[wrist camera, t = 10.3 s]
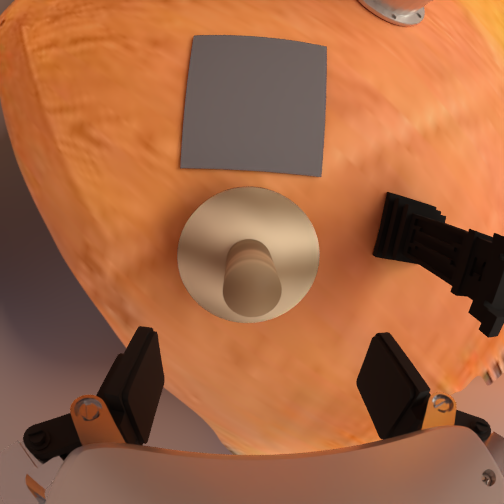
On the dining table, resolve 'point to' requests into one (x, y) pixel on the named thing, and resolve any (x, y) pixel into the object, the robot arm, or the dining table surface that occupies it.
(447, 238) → the chess piece
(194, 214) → the lid
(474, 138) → the dining table surface
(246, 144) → the rubber mat
